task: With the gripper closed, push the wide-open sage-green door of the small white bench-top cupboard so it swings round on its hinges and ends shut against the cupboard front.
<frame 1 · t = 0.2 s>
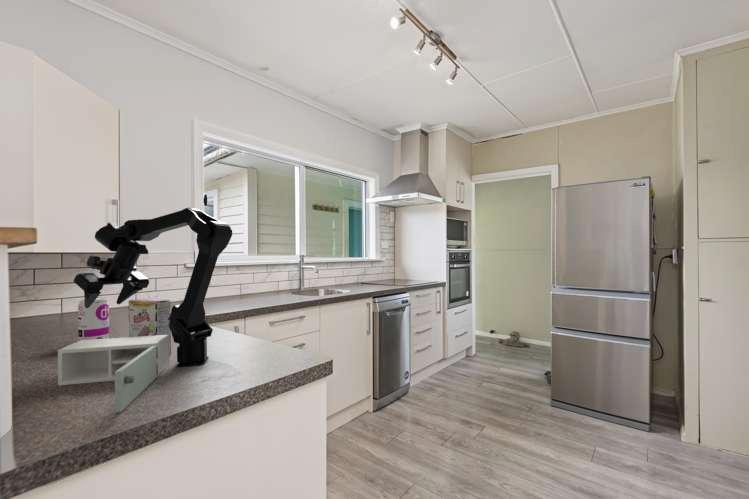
hand: (102, 305, 106), 15 cm above the counter, tool tilted 30°, fingers open, 9 cm apart
cupboard: (118, 374, 90), on the counter
supplement can: (94, 344, 122), on the counter
candy bar box: (149, 356, 106), on the counter
door: (142, 373, 77), point 4 cm above the counter, hinge at 90.0°
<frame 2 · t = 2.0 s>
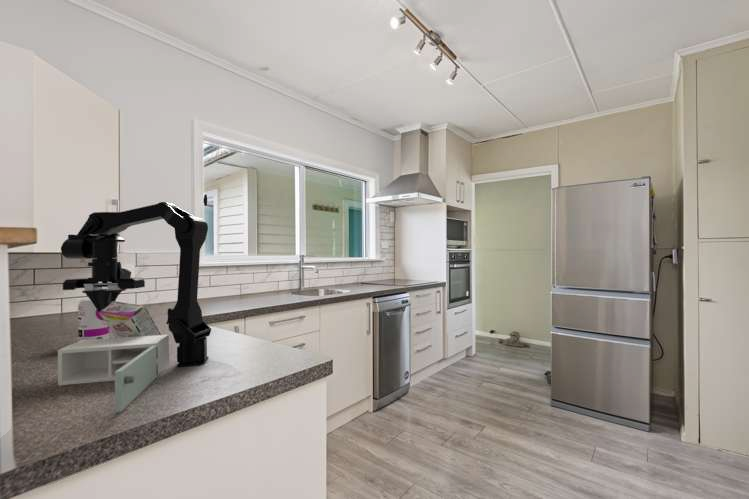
hand: (105, 314, 100), 13 cm above the counter, tool pointing down, fingers closed
candy bar box: (147, 351, 105), point 1 cm above the counter, touching gripper
everything else where it was.
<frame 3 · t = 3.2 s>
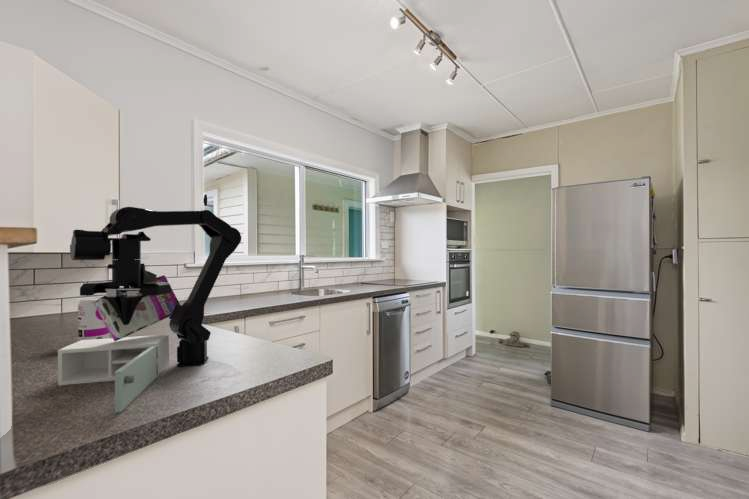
hand: (126, 324, 87), 13 cm above the counter, tool pointing down, fingers closed
candy bar box: (170, 294, 102), point 18 cm above the counter
everything else where it was.
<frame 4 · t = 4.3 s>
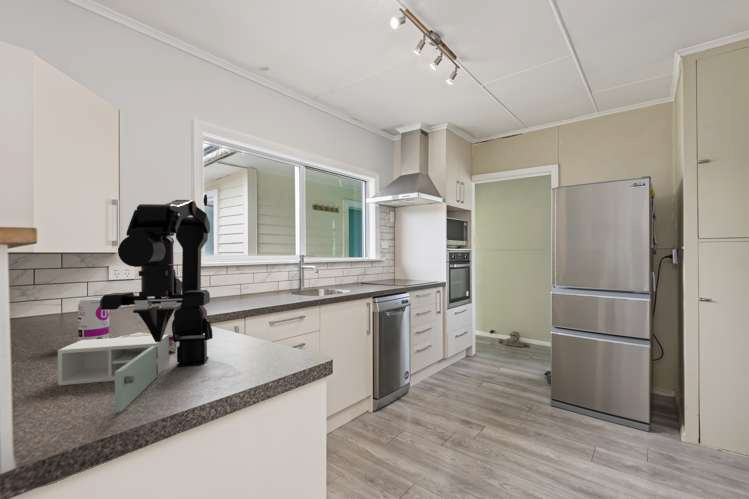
hand: (158, 341, 74), 12 cm above the counter, tool pointing down, fingers closed
candy bar box: (160, 348, 105), point 2 cm above the counter
everything else where it was.
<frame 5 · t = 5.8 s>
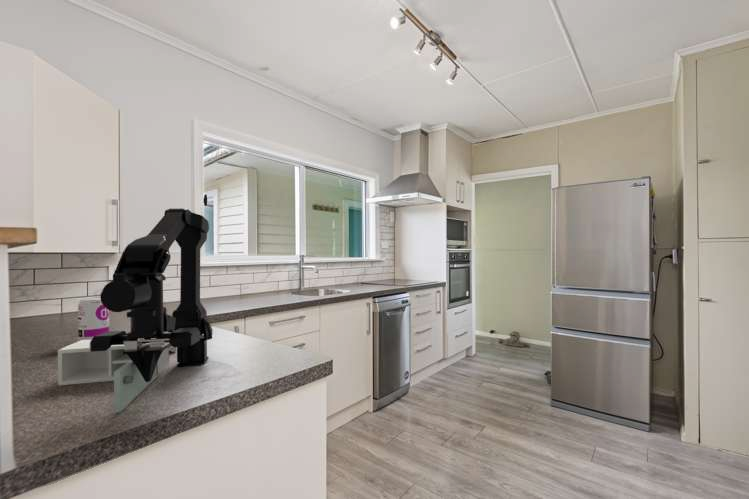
hand: (148, 381, 74), 4 cm above the counter, tool pointing down, fingers closed
door: (141, 373, 77), point 4 cm above the counter, hinge at 89.6°, touching gripper
everything else where it was.
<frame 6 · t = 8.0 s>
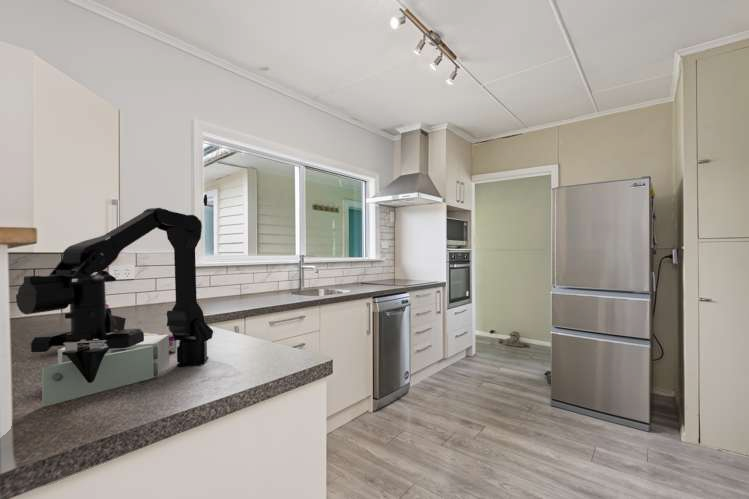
hand: (90, 382, 74), 4 cm above the counter, tool pointing down, fingers closed
door: (107, 372, 78), point 4 cm above the counter, hinge at 38.4°, touching gripper
everything else where it was.
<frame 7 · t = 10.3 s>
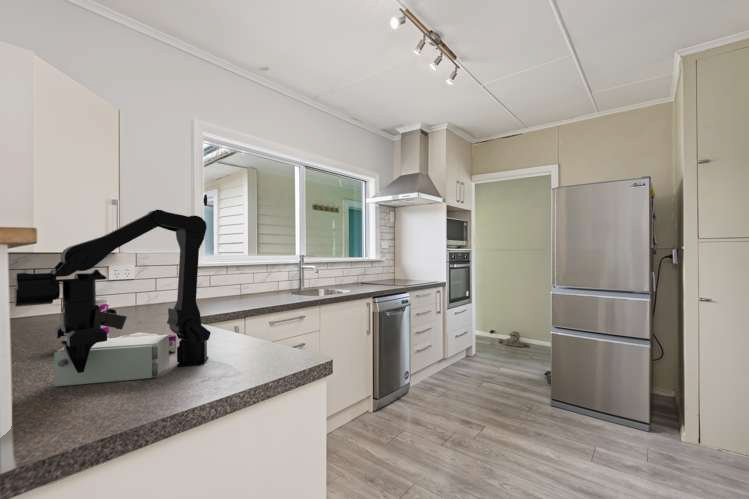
hand: (80, 372, 80), 4 cm above the counter, tool pointing down, fingers closed
door: (107, 365, 83), point 4 cm above the counter, hinge at -0.5°, touching gripper
everything else where it was.
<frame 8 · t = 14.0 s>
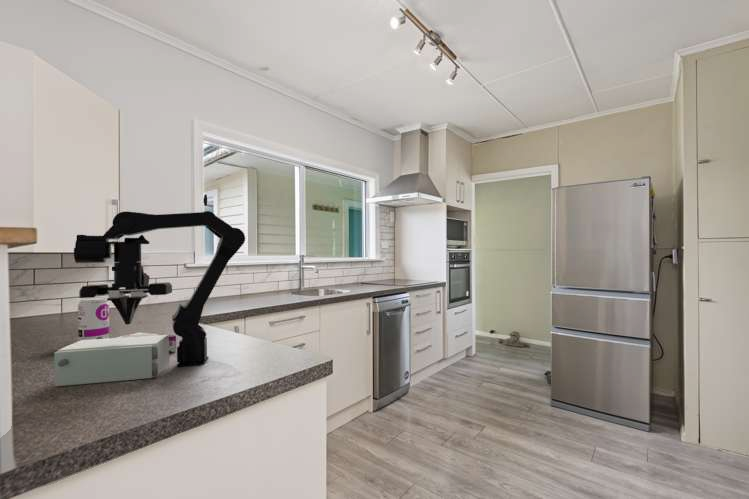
hand: (128, 324, 91), 12 cm above the counter, tool pointing down, fingers closed
door: (107, 365, 83), point 4 cm above the counter, hinge at -0.6°
everything else where it was.
at the end: door at -1° (first picture: +90°); door touching nothing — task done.
